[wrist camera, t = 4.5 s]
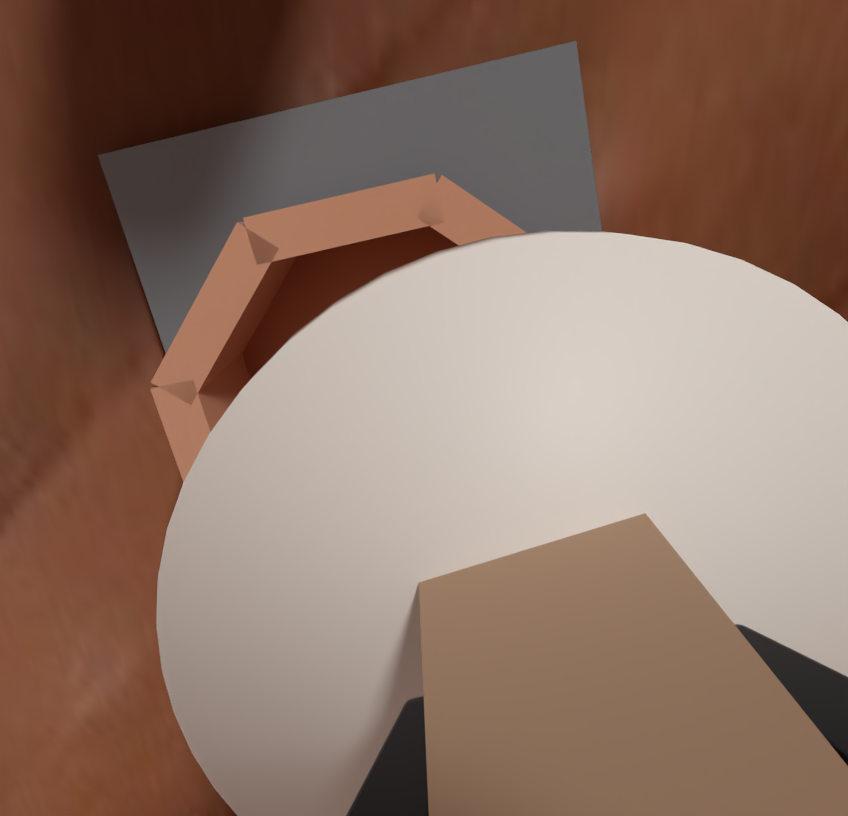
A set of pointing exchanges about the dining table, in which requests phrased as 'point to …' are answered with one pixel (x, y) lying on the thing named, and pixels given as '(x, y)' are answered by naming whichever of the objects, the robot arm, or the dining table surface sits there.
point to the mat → (359, 164)
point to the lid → (523, 539)
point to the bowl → (298, 287)
